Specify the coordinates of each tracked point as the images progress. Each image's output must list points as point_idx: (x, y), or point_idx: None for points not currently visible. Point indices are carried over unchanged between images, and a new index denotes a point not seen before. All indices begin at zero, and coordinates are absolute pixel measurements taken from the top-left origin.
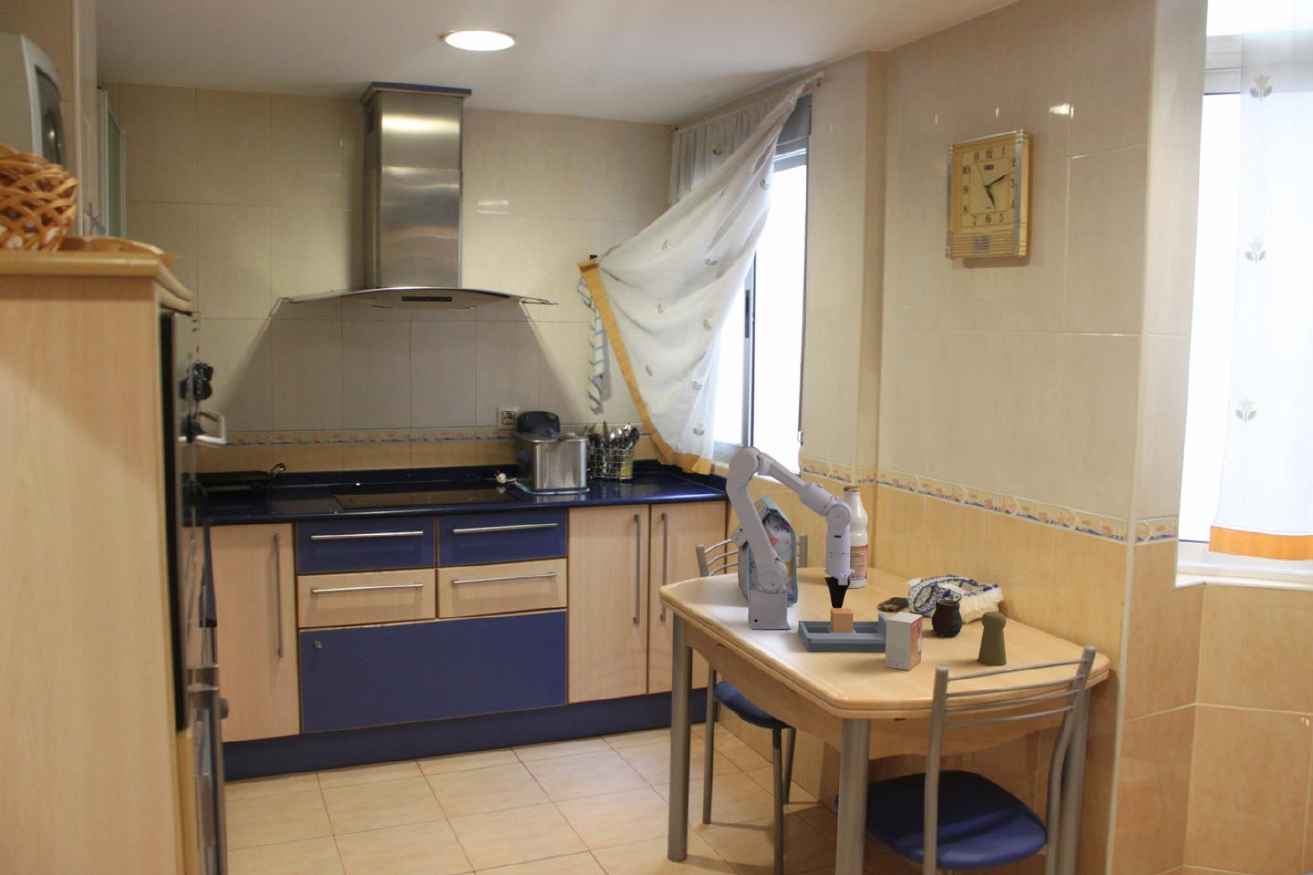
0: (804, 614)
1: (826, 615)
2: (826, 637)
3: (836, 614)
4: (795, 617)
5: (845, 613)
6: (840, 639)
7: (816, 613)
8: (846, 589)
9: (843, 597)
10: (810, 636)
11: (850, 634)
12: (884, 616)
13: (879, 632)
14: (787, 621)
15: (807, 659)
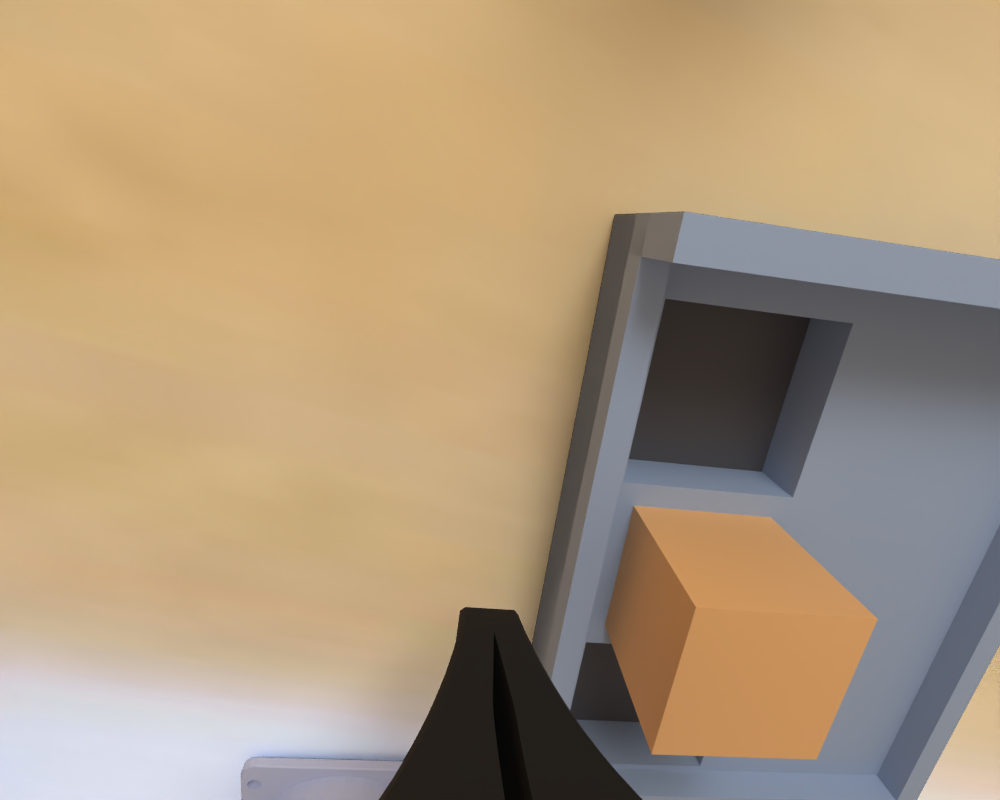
0: (56, 628)
1: (63, 491)
2: None
3: (817, 733)
4: (149, 691)
5: (847, 677)
6: (985, 665)
7: (10, 547)
8: (636, 795)
9: (560, 700)
10: (773, 760)
11: (809, 543)
12: (824, 245)
13: (833, 320)
14: (309, 767)
15: (954, 761)
